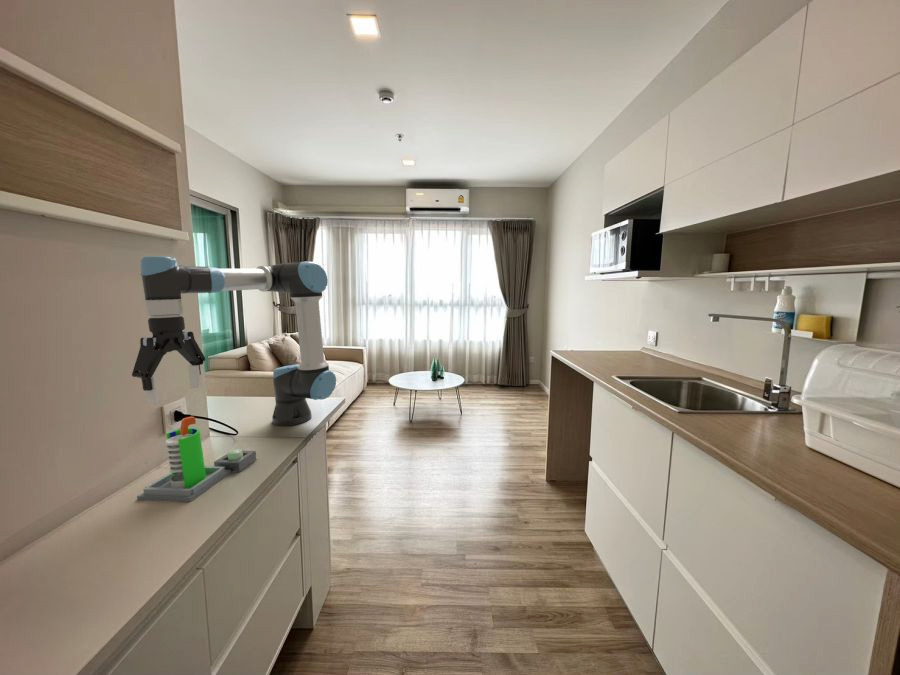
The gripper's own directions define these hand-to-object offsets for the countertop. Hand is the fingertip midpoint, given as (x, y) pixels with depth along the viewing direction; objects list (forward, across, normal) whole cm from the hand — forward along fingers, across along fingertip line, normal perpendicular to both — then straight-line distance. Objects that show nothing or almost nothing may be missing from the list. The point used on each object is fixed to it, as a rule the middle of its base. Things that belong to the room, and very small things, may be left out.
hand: (176, 394), depth 98 cm
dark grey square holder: (+26, -12, +6) cm, 30 cm away
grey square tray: (+26, 0, 0) cm, 26 cm away
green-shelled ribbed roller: (+26, 0, 0) cm, 26 cm away
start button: (+26, -12, +6) cm, 29 cm away
